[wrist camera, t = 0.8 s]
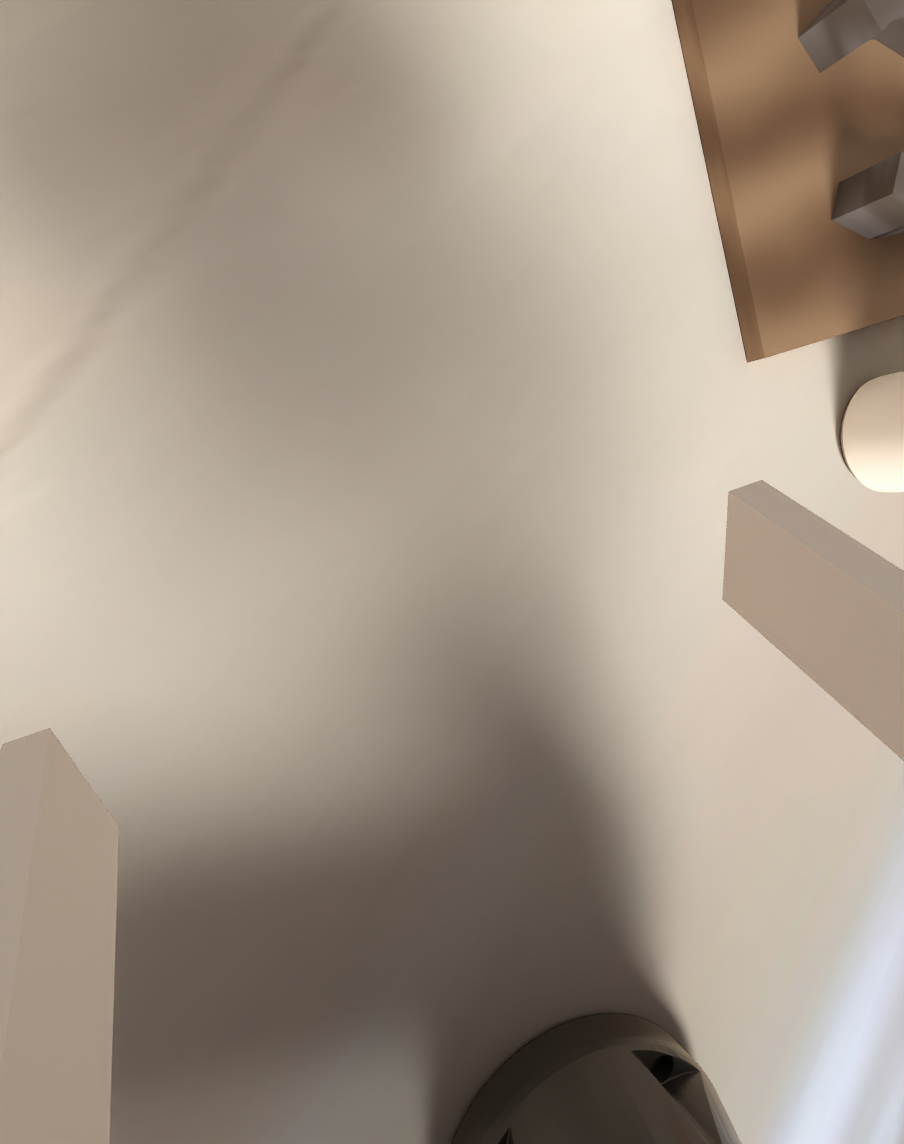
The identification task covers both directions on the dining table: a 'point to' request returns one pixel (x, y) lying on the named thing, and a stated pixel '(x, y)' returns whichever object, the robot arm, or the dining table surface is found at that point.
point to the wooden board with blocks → (803, 159)
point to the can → (876, 433)
